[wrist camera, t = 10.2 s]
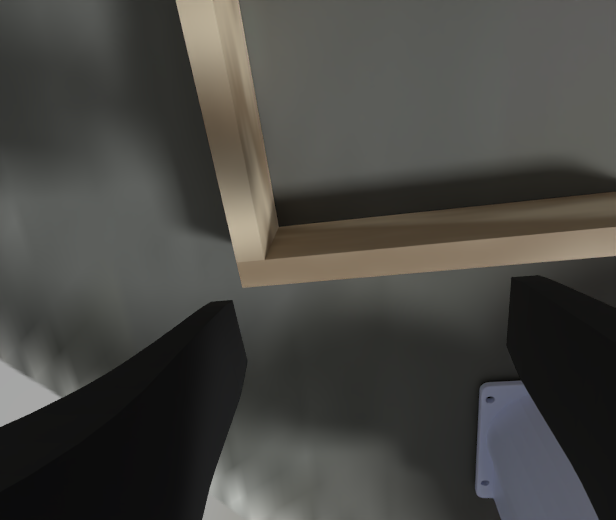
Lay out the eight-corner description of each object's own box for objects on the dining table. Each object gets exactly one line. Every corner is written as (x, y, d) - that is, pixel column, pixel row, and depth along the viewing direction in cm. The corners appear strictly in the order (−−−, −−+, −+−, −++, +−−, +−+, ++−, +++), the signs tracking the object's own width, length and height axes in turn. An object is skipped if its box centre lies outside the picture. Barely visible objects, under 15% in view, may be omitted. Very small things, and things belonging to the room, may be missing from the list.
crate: (643, 213, 18) (716, 247, 15) (260, 250, 21) (242, 287, 17) (726, -178, 13) (872, -275, 9) (195, -67, 15) (150, -110, 12)
